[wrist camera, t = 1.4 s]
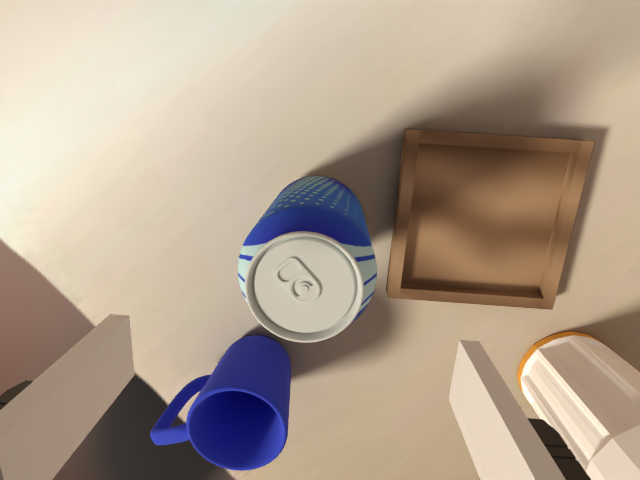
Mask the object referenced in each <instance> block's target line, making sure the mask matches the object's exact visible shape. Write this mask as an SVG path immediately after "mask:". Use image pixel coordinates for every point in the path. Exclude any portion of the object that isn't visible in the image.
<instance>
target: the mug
mask: <svg viewBox="0 0 640 480" xmlns="http://www.w3.org/2000/svg"><path fill="white" fill-rule="evenodd" d="M290 383H291V364H290V360H289V357H288V354H287V352H286V351H285V349H284V348H283V347H282V346H281V345H280V344H279V343H278V342H276V341H275V340H273V339H271V338H269V337H266V336H261V335H252V336H247V337H244V338H241V339H239V340H238V341H236V342H235V343H233V344H232V345H231V346H230V347H229V348H228V350H227V351H226V352H225V354H224V356H223V357H222V359H221V360H220V362H219V363H218V365H217V367H216V368H215V370H214V371H213V373H212V374H211V375H206V376H202V377H199V378H197V379H195V380H193V381H191V382H190V383H189V384H187V385H186V386H185V387H184V388H183V389H182V390H181V391H180V392H179V393H178V394H177V395H176V397H175V398H174V399H173V400H172V402H171V403H170V404H169V405H168V407H167V408H166V410H165V411H164V412H163V414H162V415H161V417H160V418H159V419H158V421H157V423H156V424H155V425H154V427H153V429H152V430H151V433H150V435H151V439H152V440H153V442H154V443H155V444H156V445H166V444H173V443H179V442H184V441H187V440H190V441H191V443H192V445H193V446H194V448H195V449H196V450H197V451H198V453H199V454H200V455H202V456H203V457H204V458H205V459H207V460H208V461H209V462H211V463H213V464H215V465H217V466H220V467H222V468H226V469H230V470H241V471H242V470H252V469H256V468H260V467H262V466H264V465H266V464H268V463H270V462H271V461H273V460H274V459H275V458H276V457H277V456H278V455H279V454H280V453H281V451H282V450H283V448H284V446H285V443H286V440H287V435H288V418H289V400H290ZM199 391H201V392H200V393H199V395H198V396H197V398H196V399H195V401H194V403H193V404H192V406H191V408H190V410H189V412H188V416H187V422H186V423H185V424H183V425H180V426H175V427H171V428H169V427H170V426H171V424H172V422H173V421H174V419H175V418H176V416H177V415H178V413H179V412H180V411H181V409H182V408H183V407H184V405H185V404H186V403H187V402H188V400H189V399H190V398H191V397H192V396H194V395H195V394H196V393H197V392H199Z"/></svg>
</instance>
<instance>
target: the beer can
mask: <svg viewBox="0 0 640 480" xmlns="http://www.w3.org/2000/svg"><path fill="white" fill-rule="evenodd" d="M238 278H239V283H240V287H241V290H242V293H243V296H244V298H245V300H246V302H247V303H248V305H249V307H250V310H251V312H252V313H253V315H254V316H255V318H256V319H257V320H258V321H259V323H260V324H261V325H262V326H263V327H265V328H266V329H267V330H268V331H270V332H271V333H273V334H275V335H277V336H279V337H281V338H283V339H286V340H290V341H294V342H303V343H308V342H318V341H322V340H325V339H328V338H331V337H333V336H335V335H337V334H338V333H340V332H341V331H343V330H344V329H345V328H346V327H347V326H348V325H349V324H351V323H352V322H353V321H354V320H356V319H357V318H358V317H359V316H360V314H361V313H362V312H363V311H364V310H365V308H366V307H367V305H368V304H369V302H370V300H371V298H372V295H373V293H374V289H375V285H376V278H377V266H376V259H375V255H374V251H373V247H372V244H371V240H370V236H369V232H368V229H367V225H366V221H365V217H364V214H363V210H362V207H361V204H360V202H359V200H358V199H357V197H356V196H355V194H354V193H353V192H352V191H351V190H350V189H349V188H348V187H347V186H345V185H344V184H343V183H341V182H339V181H337V180H335V179H332V178H329V177H324V176H309V177H304V178H301V179H298V180H296V181H294V182H292V183H291V184H289V185H288V186H287V187H285V188H284V189H283V190H282V191H281V192H280V194H279V195H278V196H277V198H276V199H275V200H274V202H273V203H272V204H271V206H270V207H269V208H268V210H267V211H266V212H265V213H264V215H263V216H262V217H261V219H260V220H259V221H258V223H257V224H256V225H255V227H254V228H253V229H252V231H251V232H250V234H249V235H248V236H247V238H246V240H245V242H244V244H243V247H242V249H241V252H240V256H239V261H238Z"/></svg>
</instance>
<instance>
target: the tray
mask: <svg viewBox="0 0 640 480" xmlns="http://www.w3.org/2000/svg"><path fill="white" fill-rule="evenodd" d="M594 142H595V141H585V140H571V139H556V138H540V137H524V136H508V135H492V134H476V133H460V132H444V131H429V130H413V129H405V131H404V140H403V149H402V157H401V166H400V174H399V183H398V191H397V200H396V209H395V217H394V226H393V234H392V243H391V252H390V260H389V269H388V277H387V286H386V291H387V295H388V298H400V299H414V300H428V301H441V302H455V303H469V304H483V305H497V306H511V307H524V308H538V309H553V305H554V301H555V297H556V293H557V289H558V285H559V281H560V277H561V273H562V269H563V265H564V261H565V257H566V253H567V249H568V245H569V241H570V237H571V233H572V229H573V225H574V221H575V217H576V213H577V209H578V205H579V201H580V197H581V193H582V189H583V186H584V182H585V178H586V174H587V170H588V166H589V162H590V158H591V154H592V150H593V146H594Z"/></svg>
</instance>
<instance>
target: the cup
mask: <svg viewBox="0 0 640 480" xmlns="http://www.w3.org/2000/svg"><path fill="white" fill-rule="evenodd" d="M517 374H518V381H519V385H520V388H521V390H522V392H523V393H524V395H525V396H526V398H527V400H528V401H529V402H530V404H531V405H532V406H533V408H534V410H535V411H536V413H537V414H538V416H539V418H540V419H543V420H544V421H545V422H547V423H548V424H549V425H550V426H551V427H553V428H554V429H555V430H556V431H557V432H558V433H559V434H560V436H561V437H562V438H563V440H564V441H565V443H566V444H567V446H568V449H570V450H571V451H572V453H573V454H574V456H575V457H576V460H578V461H579V463H580V464H581V466H582V467H583V469H584V470H585V471H586V473H587V474H588V476H589V477H590V479H591V480H640V372H639V371H637V370H636V369H635V368H634V367H632V366H631V365H630V364H629V363H627V362H626V361H625V360H623V359H622V358H621V357H620V356H618V355H617V354H616V353H615V352H613V351H612V350H611V349H610V348H608V347H607V346H606V345H604V344H603V343H602V342H600V341H599V340H597V339H596V338H594V337H592V336H590V335H588V334H584V333H579V332H571V331H568V332H563V333H558V334H554V335H550V336H548V337H546V338H544V339H542V340H541V341H539V342H537V343H536V344H534V345H533V346H532V347H531V348H530V349H529V351H528V352H527V353H526V354H525V356H524V357H523V359H522V361H521V364H520V366H519V370H518V373H517Z"/></svg>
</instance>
